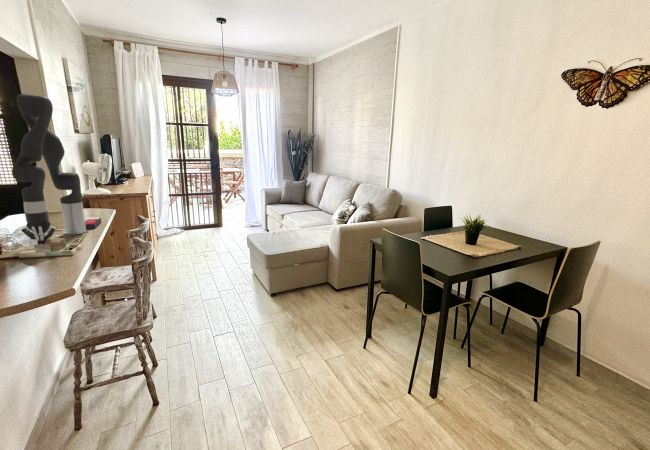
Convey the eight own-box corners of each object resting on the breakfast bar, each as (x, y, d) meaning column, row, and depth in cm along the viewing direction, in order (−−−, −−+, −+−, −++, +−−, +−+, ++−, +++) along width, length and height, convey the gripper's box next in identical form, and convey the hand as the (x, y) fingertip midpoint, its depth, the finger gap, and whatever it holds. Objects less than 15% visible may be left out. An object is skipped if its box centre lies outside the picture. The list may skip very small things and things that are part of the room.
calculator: (71, 224, 182) (79, 217, 195) (72, 231, 183) (80, 223, 197) (94, 223, 186) (100, 216, 199) (95, 230, 188) (101, 222, 201)
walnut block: (52, 246, 150) (51, 238, 149) (66, 246, 151) (65, 238, 150) (46, 250, 145) (44, 242, 144) (60, 250, 146) (59, 241, 145)
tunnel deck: (31, 250, 150) (29, 239, 149) (83, 247, 156) (81, 237, 155) (19, 257, 141) (16, 245, 139) (74, 254, 147) (72, 243, 145)
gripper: (58, 208, 148) (64, 244, 152) (22, 209, 144) (30, 245, 148) (49, 212, 141) (56, 249, 145) (12, 212, 137) (20, 251, 141)
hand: (43, 247), depth 147 cm, fingers closed
